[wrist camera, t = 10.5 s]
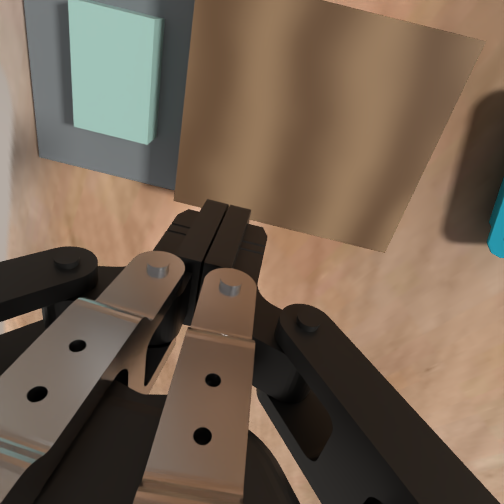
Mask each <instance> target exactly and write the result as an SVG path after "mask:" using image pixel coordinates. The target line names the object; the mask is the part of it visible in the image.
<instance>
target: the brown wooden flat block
mask: <svg viewBox="0 0 504 504" xmlns="http://www.w3.org/2000/svg"><path fill="white" fill-rule="evenodd" d="M485 43H486V41H483V40H479V39H475V38H471V37H467V36H463V35H459V34H455V33H451V32H447V31H443V30H439V29H435V28H431V27H427V26H423V25H419V24H415V23H411V22H407V21H403V20H399V19H395V18H391V17H387V16H383V15H379V14H375V13H371V12H367V11H363V10H359V9H355V8H351V7H347V6H343V5H339V4H335V3H331V2H327V1H323V0H195V3H194V13H193V22H192V32H191V41H190V51H189V60H188V70H187V79H186V89H185V98H184V108H183V117H182V127H181V136H180V146H179V155H178V165H177V174H176V184H175V193H174V201H176V202H180V203H184V204H188V205H192V206H197V207H201V208H202V207H203V205H204V203H205V202H206V200H207V199H210V200H214V201H218V202H222V203H226V204H229V206H230V205H234V206H238V207H242V208H246V209H251V215H250V219H249V220H253V221H257V222H261V223H265V224H269V225H273V226H278V227H282V228H286V229H290V230H294V231H298V232H302V233H306V234H310V235H314V236H318V237H322V238H326V239H330V240H334V241H338V242H342V243H346V244H350V245H354V246H359V247H363V248H367V249H371V250H375V251H379V252H383V253H385V251H386V249H387V247H388V245H389V243H390V241H391V239H392V237H393V234H394V232H395V230H396V228H397V226H398V224H399V222H400V220H401V218H402V216H403V214H404V212H405V209H406V207H407V205H408V203H409V201H410V199H411V197H412V195H413V193H414V191H415V189H416V187H417V184H418V182H419V180H420V178H421V176H422V174H423V172H424V170H425V168H426V166H427V164H428V161H429V159H430V157H431V155H432V153H433V151H434V149H435V147H436V145H437V143H438V141H439V139H440V136H441V134H442V132H443V130H444V128H445V126H446V124H447V122H448V120H449V118H450V116H451V113H452V111H453V109H454V107H455V105H456V103H457V101H458V99H459V97H460V95H461V93H462V91H463V88H464V86H465V84H466V82H467V80H468V78H469V76H470V74H471V72H472V70H473V68H474V65H475V63H476V61H477V59H478V57H479V55H480V53H481V51H482V49H483V47H484V45H485Z"/></svg>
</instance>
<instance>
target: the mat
mask: <svg viewBox="0 0 504 504" xmlns="http://www.w3.org/2000/svg"><path fill="white" fill-rule="evenodd" d="M91 1H95V2H99V3H103V4H107V5H111V6H115V7H119V8H123V9H127V10H131V11H135V12H139V13H143V14H147V15H151V16H155V17H159V18H163V19H165V24H164V38H163V53H162V67H161V81H160V95H159V109H158V123H157V137H156V138H155V139H154V140H153V141H151V142H150V143H149V144H148V145H146V144H142V143H138V142H134V141H130V140H126V139H122V138H118V137H114V136H109V135H105V134H101V133H97V132H93V131H89V130H85V129H81V128H77V127H74V119H73V97H72V76H71V55H70V34H69V12H68V0H24V9H25V19H26V29H27V39H28V49H29V59H30V68H31V78H32V88H33V98H34V108H35V118H36V128H37V138H38V148H39V157H41V158H45V159H49V160H53V161H57V162H61V163H65V164H69V165H73V166H78V167H82V168H86V169H90V170H94V171H98V172H102V173H106V174H110V175H114V176H118V177H122V178H126V179H130V180H134V181H138V182H142V183H146V184H150V185H154V186H158V187H163V188H167V189H171V190H175V184H176V174H177V165H178V155H179V146H180V136H181V127H182V117H183V108H184V98H185V89H186V79H187V70H188V60H189V51H190V41H191V32H192V22H193V13H194V3H195V0H91Z"/></svg>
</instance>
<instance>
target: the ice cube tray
mask: <svg viewBox="0 0 504 504" xmlns="http://www.w3.org/2000/svg"><path fill="white" fill-rule="evenodd" d="M489 223H490V225H491V226H492V227H491V230H490V233H489V236H488V239H487V245H488V247H489V250H490V252H491V253H492V254H494V255H496V256H498V257H499V258H504V178H503V181H502V184H501V187H500V190H499V193H498V196H497V199H496V202H495V205H494V208H493V211H492V214H491V217H490V220H489Z"/></svg>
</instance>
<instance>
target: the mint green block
mask: <svg viewBox="0 0 504 504" xmlns="http://www.w3.org/2000/svg"><path fill="white" fill-rule="evenodd" d="M68 12H69V34H70V55H71V76H72V97H73V119H74V127H77V128H81V129H85V130H89V131H93V132H97V133H101V134H105V135H109V136H114V137H118V138H122V139H126V140H130V141H134V142H138V143H142V144H146V145H148V144H149V143H150V142H151V141H153V140H154V139H155V138H156V137H157V123H158V109H159V95H160V81H161V67H162V53H163V38H164V24H165V19H163V18H159V17H155V16H151V15H147V14H143V13H139V12H135V11H131V10H127V9H123V8H119V7H115V6H111V5H107V4H103V3H99V2H95V1H91V0H68Z"/></svg>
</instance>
